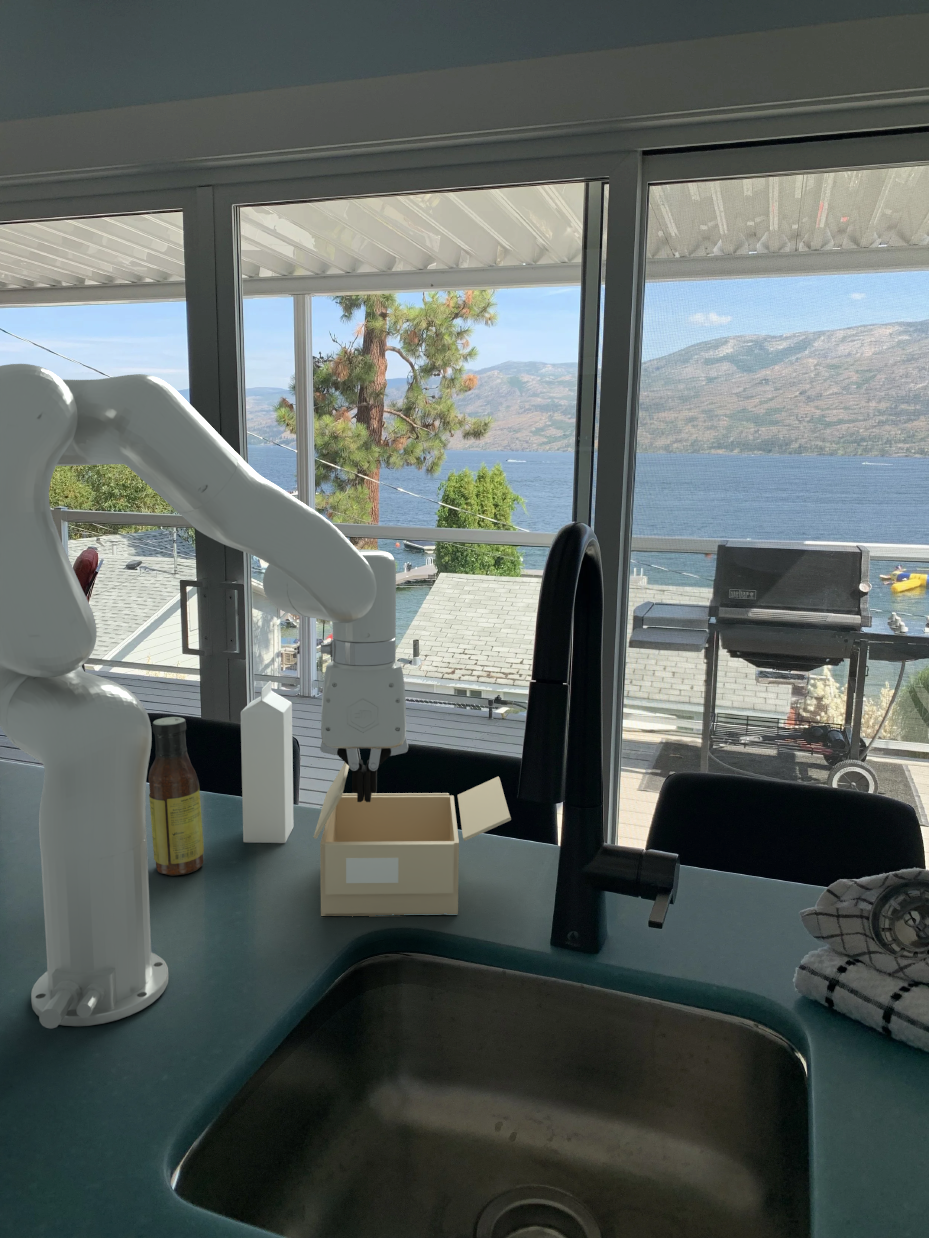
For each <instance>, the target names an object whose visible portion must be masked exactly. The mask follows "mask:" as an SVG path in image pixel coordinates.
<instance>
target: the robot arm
mask: <svg viewBox="0 0 929 1238" xmlns="http://www.w3.org/2000/svg"><path fill="white" fill-rule="evenodd" d="M94 465H97V466H99V465H125V466H126V467H127V468H129V469H130V470H131V471H132V472H133V473H134V474H136V476H137V477H138V478H140V479H141V480H142V481H143V482H144V483H145V484H147V485H148V486H149V487H150V489H152V490H153V491H154V492H155V493H157V495H158V496H159V497H161V498H162V499H163V500H164V501H165V502H166V503H167V504H168V505H170V506H171V508H173V510H175V511H176V512H177V513H178V514H179V515H180V516H181V517H182V518H184V519H185V521H187V522H188V524H190V525H191V526H192V527H193V528H194V529H196V530H197V532H199V533H201V534H203V535H205V536H207V537H208V538H209V539H212V540H214V541H216V542H218V543H220V544H222V545H225V546H227V547H230V548H232V549H236V550H239V551H240V552H243V553H246V554H249V555H250V556H253V557H256V558H258V559H260V560H261V561H263V562H266V563H267V564H268V565H267V567H266V569H265V571H264V573H263V578H262V587H263V591H264V593H265V596H266V598H267V600H268V601H269V602H270V604H272V605H273V606H274V607H275V608H277V609H278V610H279V611H282V612H284V613H287V614H290V615H294V616H299V617H303V618H311V619H317V620H322V621H328V622H332V639H331V640H330V641H327V642H321V643H320V654H323V655H324V654H325V655H326V656H330V658H331V661H330V662H328V663H327V664H326V668H325V671H324V679H323V684H322V685H323V686H322V695H321V715H320V716H321V718H320V719H321V720H320V723H321V724H320V734H321V744H320V748H319V750H320V752H321V753H323V754H328V755H330V756H331V755H333V756H337V757H339V758H340V759H341V760H342V761H343V762H344V763H346V764H347V765H348V766H349V769H350V770H351V793H357V802H362V801H363V800H364V801H366V802H370V801H371V794H372V793H377V792H378V768H379V767H380V766H381V765H382V764H383V763H384V762H385V761H386V760H388V758H389V757H392V756H396V755H401V754H406V753H407V752H408V751H409V743H408V739H407V736H406V735H407V704H406V702H407V700H406V689H405V687H406V686H405V679H404V672H403V668H402V664H401V662H399V661H397V660H396V648H397V645H396V638H397V637H396V636H397V635H396V634H397V631H396V630H397V628H396V626H397V625H396V623H397V622H396V621H397V619H396V617H397V614H396V613H397V607H396V606H397V602H396V601H397V600H396V599H397V598H396V597H397V595H396V594H397V565H396V559H395V557H394V556H393V554H391V553H390V552H388V551H385V550H380V549H357V547H355V546H354V545H353V543H352V542H351V541H350V540H349V539H348V538H347V537H346V536H345V534H344V533H343V532H341V531H340V530H339V529H338V528H337V527H336V526H335V525H333V523H332V522H330V520H328V519H327V518H325V517H324V516H323V515H321V514H320V513H319V512H317V511H316V510H315V509H314V508H311V507H310V506H308V505H307V504H305V503H304V502H302V501H301V500H300V499H298V498H296V497H294V496H293V495H292V494H290V493H289V492H287V491H286V490H285V489H283V488H281V487H280V486H278V485H277V484H275V483H274V482H271V481H270V480H268V478H265V477H264V476H262V475H261V474H260V473H258V472H257V471H256V470H255V469H254V468H253V467H252V466H251V465H250V464H249V463H247V462H246V461H245V460H244V458H243V457H242V456H241V455H240V454H239V453H238V452H237V451H235V450H234V448H233V447H232V446H231V445H230V444H229V443H228V442H227V441H226V440H225V439H224V438H223V437H222V435H220V434H219V433H218V431H216V430H215V428H213V427H212V425H211V424H210V423H209V422H208V421H207V420H206V419H205V418H204V417H203V416H202V415H201V414H200V413H199V412H198V411H197V410H196V408H195V407H193V405H192V404H191V403H190V402H188V400H187V399H185V397H184V396H183V395H182V394H180V392H179V391H177V390H176V389H175V388H174V387H173V386H172V385H171V384H169V383H167V382H166V381H165V380H163V379H161V378H159V377H157V376H153V375H150V374H145V373H144V374H143V373H141V374H125V375H120V376H119V375H118V376H113V377H112V376H111V377H107V378H100V379H99V378H97V379H64V378H61V377H59V376H58V375H57V374H56V373H55V372H53V371H52V370H49V369H47V368H44V367H42V366H39V365H34V364H29V363H10V364H4V365H0V728H1V730H2V732H3V733H4V735H5V737H7V738H8V741H10V742H11V744H13V745H14V746H15V747H17V749H20V751H22V752H23V753H25V754H26V755H29V756H30V757H32V758H34V759H35V760H37V761H38V762H40V763H41V764H42V765H43V770H44V777H43V786H42V791H41V797H40V804H39V813H38V814H39V815H38V834H39V850H40V864H41V866H40V867H41V876H42V877H41V878H42V879H41V882H42V897H43V898H42V899H43V913H44V914H43V915H44V931H45V932H44V933H45V947H46V948H45V949H46V966H47V967H46V968H47V969H46V971H45V972H44V973H43V974H42V975H41V976H40V977H39V978H38V979H37V981H36V982H35V983H34V984H33V986H32V989H31V991H30V992H31V995H30V998H31V1008H32V1010H33V1012H34V1013H35V1014H36V1015H37V1016H38V1018H39V1020H38V1021H39V1023H40V1024H41V1026H42V1027H44V1028H46V1029H55V1028H58V1026H66V1027H90V1026H95V1025H103V1024H107V1023H112V1022H115V1021H119V1020H121V1019H124V1018H126V1017H127V1018H128V1017H129V1016H132V1015H134V1014H136V1013H138V1012H140V1011H142V1010H144V1009H146V1008H147V1007H148V1006H150V1005H151V1004H153V1003H154V1002H155V1001H156V1000H157V999H159V998H160V996H161V995H162V994H163V993H164V991H165V990H166V989H167V986H168V984H169V967H168V964H167V963H166V961H165V960H164V959H163V958H162V957H160V956H159V955H158V954H156V953H154V952H152V942H151V941H152V940H151V939H152V938H151V936H152V935H151V916H150V915H151V914H150V913H151V912H150V887H149V886H150V885H149V883H150V882H149V863H148V860H149V859H148V839H147V838H148V835H147V819H146V818H147V816H146V815H147V814H146V813H147V812H146V810H147V809H146V806H147V805H146V802H147V801H146V798H147V797H146V792H147V778H148V770H149V763H150V756H151V749H152V741H153V740H152V739H153V738H152V726H151V725H152V724H151V720H150V717H149V714H148V712H147V709H146V708H145V707H144V705H143V703H142V702H141V700H140V699H139V698H138V697H137V696H136V695H135V694H134V693H133V692H132V691H130V690H129V689H127V688H126V687H125V686H123V685H121V684H119V683H117V682H115V681H112V680H111V679H108V678H105V677H103V676H99V675H98V674H97V675H96V674H93V673H90V672H86V671H84V668H83V666H84V664H85V663H86V662H87V661H88V660H89V658H90V657H91V655H92V653H93V651H94V649H95V646H96V642H97V635H98V633H97V632H98V631H97V623H96V620H95V615H94V612H93V610H92V607H91V605H90V603H89V601H88V598H87V596H86V594H85V592H84V590H83V588H82V586H81V582H80V581H79V579H78V575H76V571H75V570H74V568H73V565H72V563H71V561H70V559H69V556H68V554H67V552H66V549H65V547H64V545H63V543H62V539H61V538H60V535H59V531H58V528H57V525H56V523H55V521H54V518H53V514H52V509H51V504H50V486H51V481H52V478H53V474H54V471H55V469H56V467H58V466H59V467H60V466H61V467H63V466H64V467H66V466H67V467H68V466H75V467H76V466H94ZM360 749H370V754H369V759H368V760H367V761H366V765H365V764H364V761H363V759H361V754H360V753H361V752H360Z"/></svg>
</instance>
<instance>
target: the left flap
mask: <svg viewBox="0 0 929 1238" xmlns="http://www.w3.org/2000/svg"><path fill="white" fill-rule="evenodd" d="M349 769H350V768H349V766H348V765H347V764H346V763H345V762H344V763H343V764H342V767H340V769H339V771H338V773H337V775H336V776H335V778H334V780H333V781H332V783H331V785H330V787H329V788H328V790H327V791H326V793H325V796H324V801H323V803H322V806H321V810H320V813H319V816H318V817H319V818H318V821H317V825H316V827H315V831H314V835H313V839H315V840H317V839H318V838H319V835H320V834H321V833H322V830H324V828H325V824H326V822H327V820H328V819H329V817H330V815H331V814H332V812H333V810H334V809H335V807H336V805H337V804H338V802H339V800H340V799H341V797H342V794H343V793H344V790H345V785H346V781H347V777H348V772H349Z"/></svg>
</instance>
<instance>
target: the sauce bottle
mask: <svg viewBox="0 0 929 1238" xmlns="http://www.w3.org/2000/svg"><path fill="white" fill-rule="evenodd" d="M186 721H187V720H186V719H185V718H183V717H179V716H169V717H168V716H167V717H162V718H158V719H155V720H154V721H153V722H152V732H153V734H154V739H155V740H154V741H155V751H154V752H155V758H154V761H153V763H152V764H151V767H150V769H149V773H148V783H149V784H148V786H149V794H148V797H149V808H150V811H149V812H150V823H151V835H152V836H151V837H152V838H151V839H152V848H153V849H152V850H153V860H154V861H155V867H156V870H157V872H158V873H159V874H162V875H163V874H164V875H167V876H171V877H172V876H183V875H187V874H191V873H193V872H195V871H197V870H199V869H200V868H201V867H202V866H203V864H204V851H205V847H204V833H203V821H202V819H203V818H202V804H201V793H200V792H201V790H200V781H199V778H198V775H197V773H196V770H195V768H194V766H193V765H192V763H191V759H190V757H189V754H188V747H187V738H186V731H187V723H186Z"/></svg>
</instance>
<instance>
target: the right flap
mask: <svg viewBox="0 0 929 1238" xmlns="http://www.w3.org/2000/svg"><path fill="white" fill-rule="evenodd" d="M504 793H505V792H504V789H503V786H502V782H501V778H500V777H499V776H496V777H494V778H492V779H490V780H487V781H485V782H483V783H481V784H479V785H476V786H474V787H472V788H470V789H467V790H466V791H463V792H461V793H459V794H457V802H458V808H459V816H460V818H459V819H460V825H461V826H460V827H461V832H462V839H463V841H464V842H466V841H468V840H470V839H472V838H473V839H474V837H477V836H479V835H481V834H483V833H486V832H488V831H490V830H492V829H495V828H498V826H499V827H500V826H501V825H503V824H505V823H508V822H510V821H511V820H512V817H511V814H510V811H509V807H508V804H507V800H506V797H505V794H504Z"/></svg>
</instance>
